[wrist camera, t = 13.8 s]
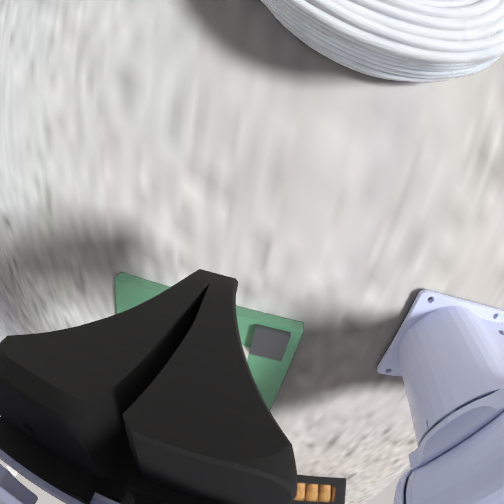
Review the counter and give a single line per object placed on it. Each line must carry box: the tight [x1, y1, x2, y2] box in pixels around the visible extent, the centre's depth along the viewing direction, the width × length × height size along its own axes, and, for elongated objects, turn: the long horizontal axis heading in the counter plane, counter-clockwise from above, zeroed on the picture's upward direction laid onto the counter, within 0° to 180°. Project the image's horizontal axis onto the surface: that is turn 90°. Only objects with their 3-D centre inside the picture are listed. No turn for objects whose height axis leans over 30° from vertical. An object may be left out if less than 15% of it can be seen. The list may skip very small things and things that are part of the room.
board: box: [115, 272, 304, 411], centre depth 23 cm, size 14×12×2 cm
